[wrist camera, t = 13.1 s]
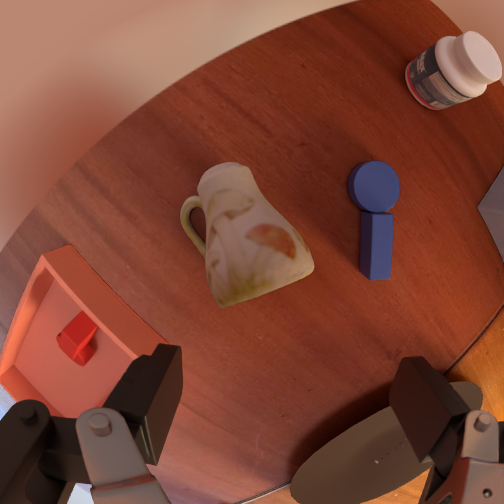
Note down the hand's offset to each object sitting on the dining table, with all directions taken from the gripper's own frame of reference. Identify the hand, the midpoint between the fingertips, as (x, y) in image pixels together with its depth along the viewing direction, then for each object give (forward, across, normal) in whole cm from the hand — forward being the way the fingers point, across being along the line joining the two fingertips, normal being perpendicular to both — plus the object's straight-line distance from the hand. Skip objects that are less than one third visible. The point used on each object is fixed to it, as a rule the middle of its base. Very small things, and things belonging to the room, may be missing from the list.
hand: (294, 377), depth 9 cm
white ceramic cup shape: (+14, +3, -3) cm, 15 cm away
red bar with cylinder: (+11, +16, +7) cm, 21 cm away
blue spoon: (+14, -8, -4) cm, 17 cm away
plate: (+14, -19, +24) cm, 34 cm away
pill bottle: (+15, -13, -18) cm, 26 cm away
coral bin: (+14, +21, +13) cm, 29 cm away
